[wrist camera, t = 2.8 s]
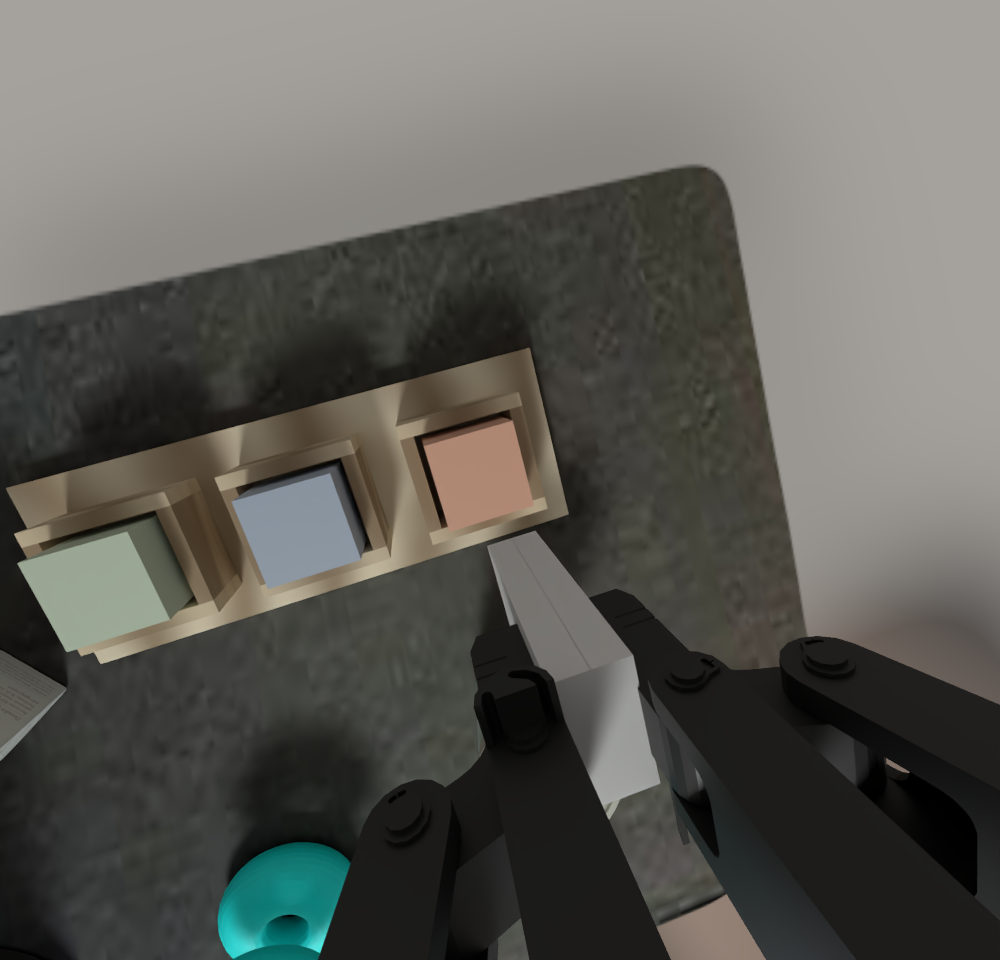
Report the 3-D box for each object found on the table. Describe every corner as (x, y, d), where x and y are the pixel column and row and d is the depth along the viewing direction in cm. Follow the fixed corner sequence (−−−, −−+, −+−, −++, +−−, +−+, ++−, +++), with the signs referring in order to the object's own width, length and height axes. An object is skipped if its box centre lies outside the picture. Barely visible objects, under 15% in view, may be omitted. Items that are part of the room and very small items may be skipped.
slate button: (286, 561, 29) (268, 588, 25) (255, 485, 28) (231, 501, 24) (366, 536, 30) (361, 559, 26) (340, 460, 29) (329, 473, 25)
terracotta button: (444, 512, 30) (449, 532, 27) (421, 437, 29) (423, 446, 25) (518, 490, 31) (534, 505, 27) (498, 415, 30) (512, 420, 26)
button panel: (110, 655, 31) (56, 705, 26) (18, 484, 28) (-60, 505, 24) (564, 510, 35) (589, 531, 31) (525, 348, 32) (546, 342, 28)
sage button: (113, 614, 28) (66, 652, 24) (73, 537, 27) (17, 563, 23) (201, 587, 28) (170, 619, 25) (166, 510, 27) (127, 531, 23)
